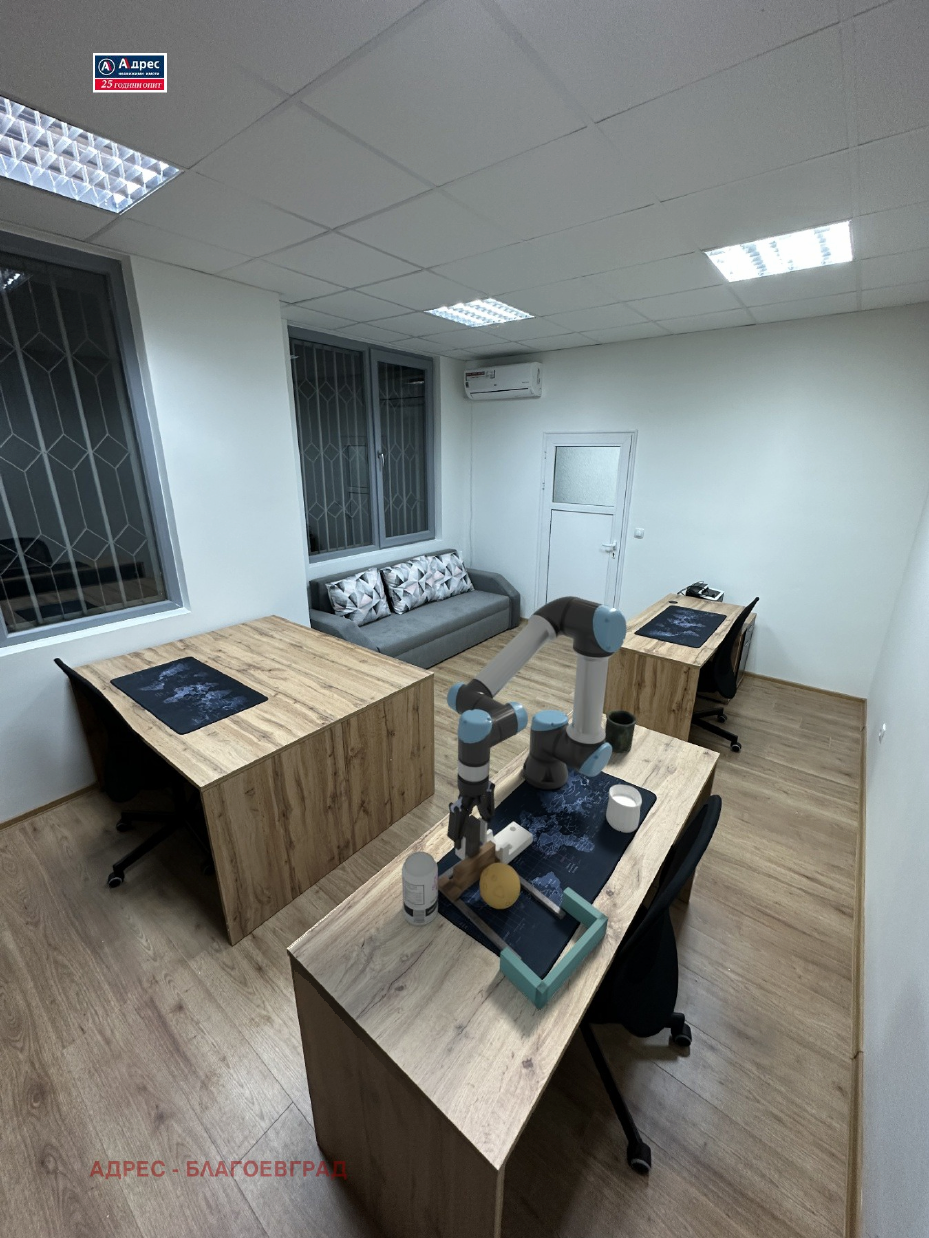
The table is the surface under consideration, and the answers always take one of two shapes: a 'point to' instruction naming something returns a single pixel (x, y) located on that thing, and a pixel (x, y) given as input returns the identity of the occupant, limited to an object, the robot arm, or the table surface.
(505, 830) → the bracket
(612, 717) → the mug
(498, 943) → the rails
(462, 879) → the carriage
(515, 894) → the stress ball
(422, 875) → the supplement can
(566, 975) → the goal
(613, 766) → the table surface
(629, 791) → the cup
